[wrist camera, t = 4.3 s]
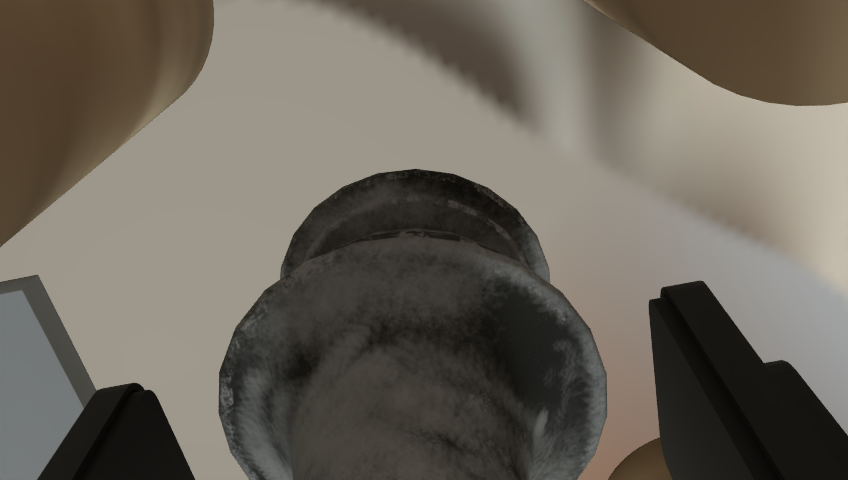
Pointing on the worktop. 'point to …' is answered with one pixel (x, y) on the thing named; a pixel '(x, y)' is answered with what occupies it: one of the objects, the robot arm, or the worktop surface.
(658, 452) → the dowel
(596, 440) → the salt shaker
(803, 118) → the worktop surface
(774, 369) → the robot arm
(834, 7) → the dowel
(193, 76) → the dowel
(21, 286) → the coaster
